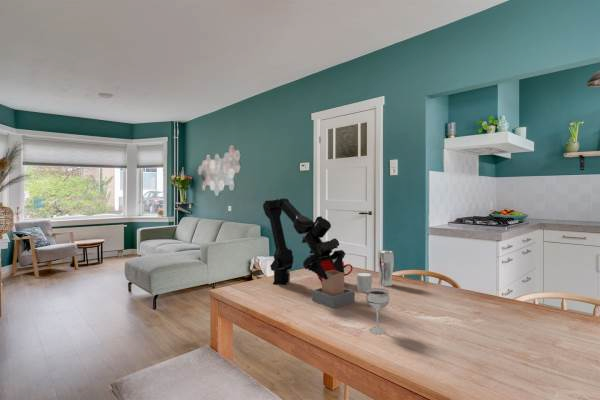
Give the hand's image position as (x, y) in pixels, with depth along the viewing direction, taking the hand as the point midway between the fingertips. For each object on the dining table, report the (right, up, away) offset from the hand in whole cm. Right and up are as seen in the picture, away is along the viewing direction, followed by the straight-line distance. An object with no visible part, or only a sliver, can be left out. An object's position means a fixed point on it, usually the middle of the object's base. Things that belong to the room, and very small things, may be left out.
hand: (335, 277), depth 127 cm
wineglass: (+10, -10, -26) cm, 30 cm away
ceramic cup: (+2, -9, +25) cm, 27 cm away
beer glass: (+25, -9, +23) cm, 35 cm away
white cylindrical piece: (+14, -9, +14) cm, 22 cm away
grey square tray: (-1, -10, +1) cm, 10 cm away
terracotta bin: (-1, -9, +1) cm, 9 cm away
